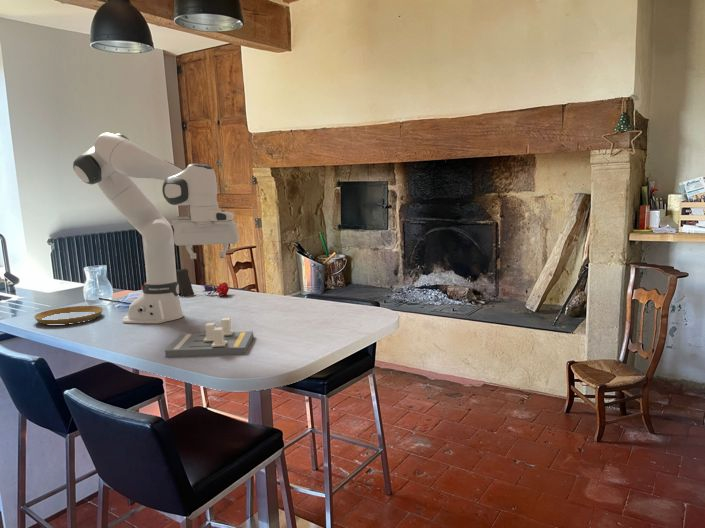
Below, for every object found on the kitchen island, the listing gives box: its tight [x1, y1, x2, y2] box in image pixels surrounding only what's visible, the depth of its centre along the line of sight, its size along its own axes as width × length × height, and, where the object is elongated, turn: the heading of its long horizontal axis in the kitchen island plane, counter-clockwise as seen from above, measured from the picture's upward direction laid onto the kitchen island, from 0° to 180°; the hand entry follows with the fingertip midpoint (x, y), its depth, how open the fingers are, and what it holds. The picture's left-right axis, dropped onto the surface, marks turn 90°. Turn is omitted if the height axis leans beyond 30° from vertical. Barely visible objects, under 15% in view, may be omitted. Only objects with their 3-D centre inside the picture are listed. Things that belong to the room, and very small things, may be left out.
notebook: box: [112, 289, 137, 299], centre depth 251 cm, size 27×17×2 cm, turn 58°
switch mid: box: [203, 322, 216, 341], centre depth 173 cm, size 4×4×5 cm
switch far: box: [220, 317, 235, 335], centre depth 179 cm, size 4×4×5 cm
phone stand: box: [176, 268, 195, 297], centre depth 256 cm, size 9×6×12 cm, turn 56°
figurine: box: [201, 282, 230, 297], centre depth 252 cm, size 6×8×15 cm
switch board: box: [164, 330, 254, 358], centre depth 173 cm, size 24×18×2 cm
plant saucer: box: [33, 305, 104, 325], centre depth 214 cm, size 24×24×3 cm
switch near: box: [211, 326, 227, 347], centre depth 167 cm, size 4×4×5 cm
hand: (208, 258), depth 174 cm, fingers open, 8 cm apart
